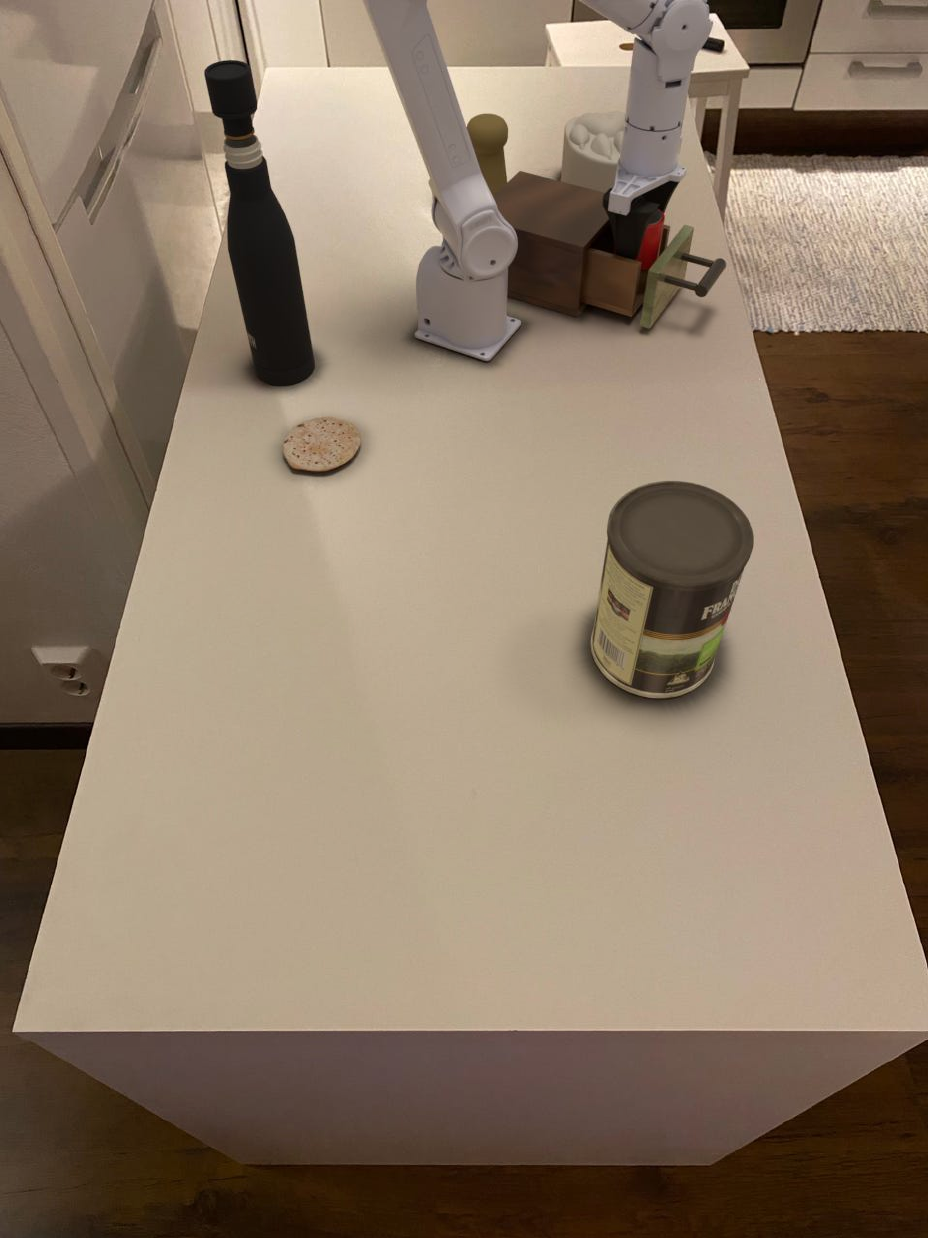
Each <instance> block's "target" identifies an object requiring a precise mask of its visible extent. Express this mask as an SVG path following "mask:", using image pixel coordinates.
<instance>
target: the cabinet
mask: <svg viewBox="0 0 928 1238" xmlns="http://www.w3.org/2000/svg"><path fill="white" fill-rule="evenodd" d="M604 194H605V193H604V192H600V191H596V190H592V189H588V188H584V187H581V186H577V185H573V184H569V183H565V182H561V180H557V179H553V178H550V177H546V176H541V175H538V174H534V173H529V172H526V171H523V170H522V171H521V170H519V171H518V172H517V173H516V174H515V175H514V176H513V177H512V178H511V179H509V180H508V181H507V183H506V184H505V185H504V186H503V187H502V188H501V189H500V190H499V191H498V192H497V193H496V194H495V195H494V196H493V198H494V200H495V202H496V205H497V208H498V210H499V212H500V213H501V215H502V216H503V217H504V219H505V220H506V221H507V222H508V223H509V224H510V225H511V226H512V227H513V228H514V230H515V232H516V235H517V240H518V248H517V252H516V255H515V257H514V259H513V261H512V263H511V264H510V265H509V266H508V289H507V298H508V297H509V298H512V299H515V300H518V301H522V302H525V303H528V304H532V305H534V306H539V307H541V308H545V309H548V310H551V311H554V312H557V313H561V314H565V315H568V316H571V317H574V318H578V317H579V316H580V314H581V313H583V311H584V310H585V309H586V307H587V306H588V305H589V304H587V303H583V302H581V297H582V286H583V276H584V265H585V255H586V250H587V249H588V248H589V247H590V246H591V244H592V243H593V242H594V241H595V240H596V239H597V238H598V236H599V235H600V234H601V233H602V232H603V231H604V230H605V228H606V227H607V226H608V225H609V224H610V220H609V217H608V215H607V213H606V211H605V209H604V207H603V195H604Z"/></svg>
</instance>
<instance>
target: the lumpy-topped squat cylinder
mask: <svg viewBox="0 0 928 1238" xmlns="http://www.w3.org/2000/svg"><path fill="white" fill-rule="evenodd" d="M624 120H625V112H623V111H619V110H615V111H607V112H586V113H583V114H582V115H578V116H575V117H572V118H570V119H569V120H567V122H566V123H565V125H564V129H563V142H562V143H563V144H562V157H561V158H562V159H561V173H560V181H561V182H565V183H569V184H573V185H577V186H581V187H584V188H588V189H592V190H596V191H600V192H604V193H606V192H607V191H608V190H609V189H610V188H612V189H613V188H614V185H615V178H616V170H617V163H618V159H619V158H620V154H621V146H622V137H623V129H624Z"/></svg>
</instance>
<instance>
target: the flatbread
mask: <svg viewBox="0 0 928 1238" xmlns="http://www.w3.org/2000/svg"><path fill="white" fill-rule="evenodd" d="M361 442H362V439H361V433H360V431H359V429H358V427H357V426H356V425H355V424H354V423H352V422H350V421H347V420H344V419H341V418H337V417H332V416H324V417H323V416H321V417H317V418H313V419H309V420H304V421H302V422H300V423H297V424H296V425H294V426H293V428H292V429H291V430H290V431H289V432H288V434H287V435H286V437H285V439H284V442H283V444H282V454H283V456H284V459H285V460H286V461H287V463H288V465H289V466H290V468H293V469H294V470H302V471H308V472H327V471H330V470H331V471H332V470H333V469H337V468H339V467H341V466H343V465H344V464H347V463H348V462H349V461H350V460H352V459H353V458H354V456H355V455H356V453H357V452H358V450H359V449H360V446H361Z"/></svg>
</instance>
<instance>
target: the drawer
mask: <svg viewBox="0 0 928 1238" xmlns="http://www.w3.org/2000/svg"><path fill="white" fill-rule="evenodd" d="M670 231H671V225H667V224H664V227H663V233H662V239H661V245H660V251H659V258H658V259H657V260H656V261H655V263H654V264H653V265H652V267H651V268H650V269H647V270H642V271H640V270H641V263H642V262H639V261H636V260H632V259H629V258H625V257H622V256H618V255H614V254H613V250H614V237H613V231H612V227H611V223H610V224H609V225H608V226H607V227H606V228H605V230H604V231H603V232H602V233H601V234H600V235H599V236H598V238H597V239H596V240H595V241H594V242H593V243H592V244H591V246H590V247H589V248H588V249H587V250H586V255H585V265H584V276H583V286H582V297H581V302H583V303H587V304H588V305H590V306H594V307H597V308H600V309H603V310H606V311H610V312H614V313H617V314H619V315H623V316H626V317H630V318H631V317H633V316H634V314H635V313H636V312H637V310H638V309H639V308H640V306H641V305H642V308H641V309H642V310H641V316H640V323H639V327H642V328H645V329H651V328H652V326H653V325H654V324H655V322H656V321H657V320H658V318H659V317H660V315H662V313H663V311H665V309H666V307H667V306H668V305H669V303H670V302H671V300H672V299H673V298H674V296H675V295H676V294H677V292H678V291H679V289H680V288H683V289H686V290H690V291H693V292H694V293H695V295H696V296H697V297H698V298H704V297H706V296H707V295H708V294H709V292H710V290H711V289H713V286H714V285H715V283H716V282H717V281H718V279H719V278H720V277H721V275H722V274H723V272H724V270H726V268H727V262H726V260H725V259H724V258H721V257H719V258H716V259H715V260H712V259H708V258H704V257H701V256H698V255H694V254H690V252H691V247H692V241H693V237H694V232H695V227H694V226H692V225H687V224H683V226H682V227H681V228H680V229H679V231H678V232H677V233H676V235H675V236H674V237H673V238H672V240H671V241H670V242H669V239H670V238H669V237H670V233H671V232H670ZM668 243H669V244H668ZM688 263H690V264H694V265H698V266H701V267H706V268H708V269H707V271H706V272H705V274H704V275H703V276H702V278H701V279H700V281H699V282H698V283H696V282H693V281H690V280H685V278H686V274H687V269H688Z"/></svg>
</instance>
